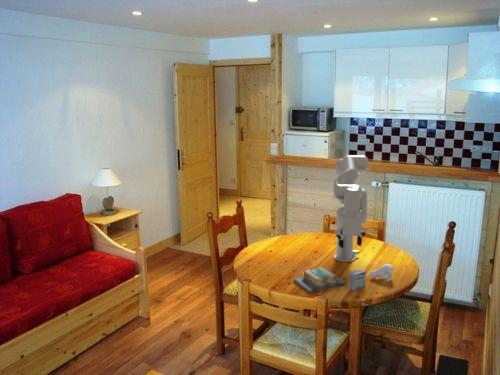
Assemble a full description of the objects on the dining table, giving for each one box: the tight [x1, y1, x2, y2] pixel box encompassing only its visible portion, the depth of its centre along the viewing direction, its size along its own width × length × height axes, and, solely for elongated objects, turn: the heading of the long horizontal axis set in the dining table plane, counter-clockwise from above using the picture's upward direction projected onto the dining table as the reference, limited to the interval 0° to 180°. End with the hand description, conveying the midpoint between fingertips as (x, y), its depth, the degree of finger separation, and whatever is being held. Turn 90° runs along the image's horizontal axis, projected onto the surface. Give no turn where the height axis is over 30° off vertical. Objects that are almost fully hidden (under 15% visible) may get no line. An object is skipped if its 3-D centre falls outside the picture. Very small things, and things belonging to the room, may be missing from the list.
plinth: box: [293, 267, 347, 294], centre depth 240 cm, size 22×16×6 cm
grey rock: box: [369, 263, 394, 283], centre depth 244 cm, size 6×8×12 cm
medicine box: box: [348, 268, 367, 292], centre depth 234 cm, size 8×4×9 cm, turn 126°
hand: (350, 246), depth 229 cm, fingers open, 9 cm apart
